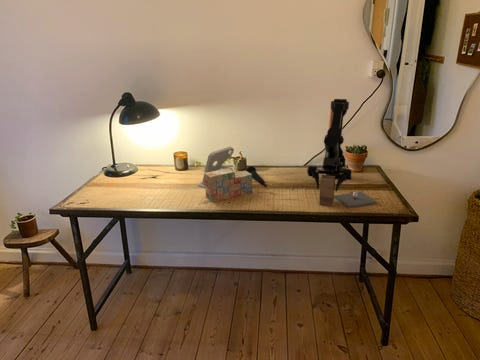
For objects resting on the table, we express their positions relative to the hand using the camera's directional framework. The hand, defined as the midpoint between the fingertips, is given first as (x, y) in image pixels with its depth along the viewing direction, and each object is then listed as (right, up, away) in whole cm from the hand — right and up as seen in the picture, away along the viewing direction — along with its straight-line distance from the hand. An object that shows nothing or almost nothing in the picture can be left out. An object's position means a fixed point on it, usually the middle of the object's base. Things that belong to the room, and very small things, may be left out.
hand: (326, 190), depth 172 cm
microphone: (-29, +4, +32) cm, 43 cm away
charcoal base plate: (+14, -5, +5) cm, 15 cm away
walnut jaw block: (+1, -6, +4) cm, 7 cm away
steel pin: (+14, -5, +5) cm, 15 cm away
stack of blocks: (-42, -3, +15) cm, 45 cm away
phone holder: (-49, +3, +30) cm, 58 cm away
